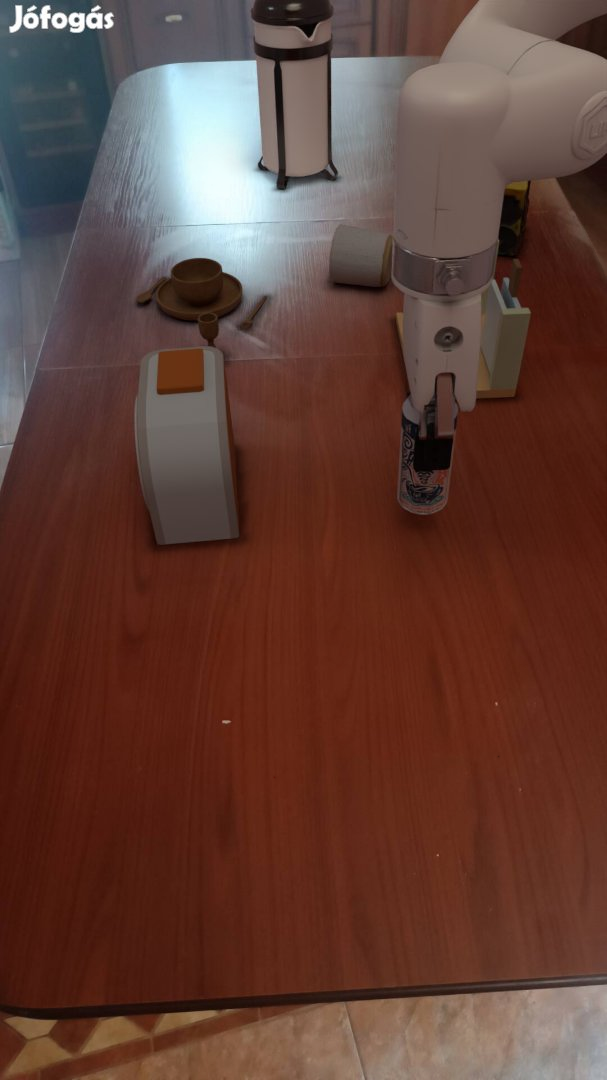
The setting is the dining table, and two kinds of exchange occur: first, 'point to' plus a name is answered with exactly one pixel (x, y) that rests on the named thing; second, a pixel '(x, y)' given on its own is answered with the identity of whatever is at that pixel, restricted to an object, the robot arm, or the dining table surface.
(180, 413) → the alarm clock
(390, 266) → the grey cylinder
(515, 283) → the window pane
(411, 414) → the beer can
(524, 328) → the bookend with square base
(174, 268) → the place setting
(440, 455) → the robot arm
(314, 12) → the coffee press
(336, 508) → the dining table surface
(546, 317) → the dining table surface
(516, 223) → the yellow cube with holes
